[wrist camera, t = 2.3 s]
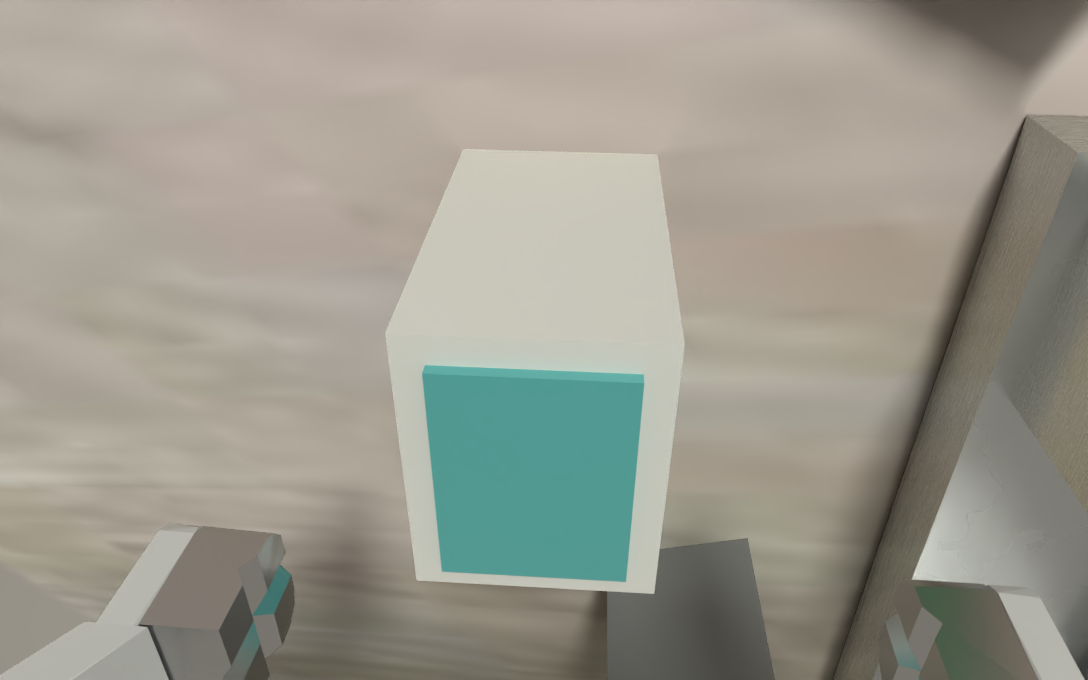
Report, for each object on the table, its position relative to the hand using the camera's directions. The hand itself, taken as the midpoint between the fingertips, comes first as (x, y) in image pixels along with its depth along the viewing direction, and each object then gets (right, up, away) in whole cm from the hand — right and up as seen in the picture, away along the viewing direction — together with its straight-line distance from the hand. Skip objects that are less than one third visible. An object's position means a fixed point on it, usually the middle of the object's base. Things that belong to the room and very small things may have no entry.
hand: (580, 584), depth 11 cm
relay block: (+4, -4, +13) cm, 14 cm away
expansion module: (0, +5, +7) cm, 9 cm away
